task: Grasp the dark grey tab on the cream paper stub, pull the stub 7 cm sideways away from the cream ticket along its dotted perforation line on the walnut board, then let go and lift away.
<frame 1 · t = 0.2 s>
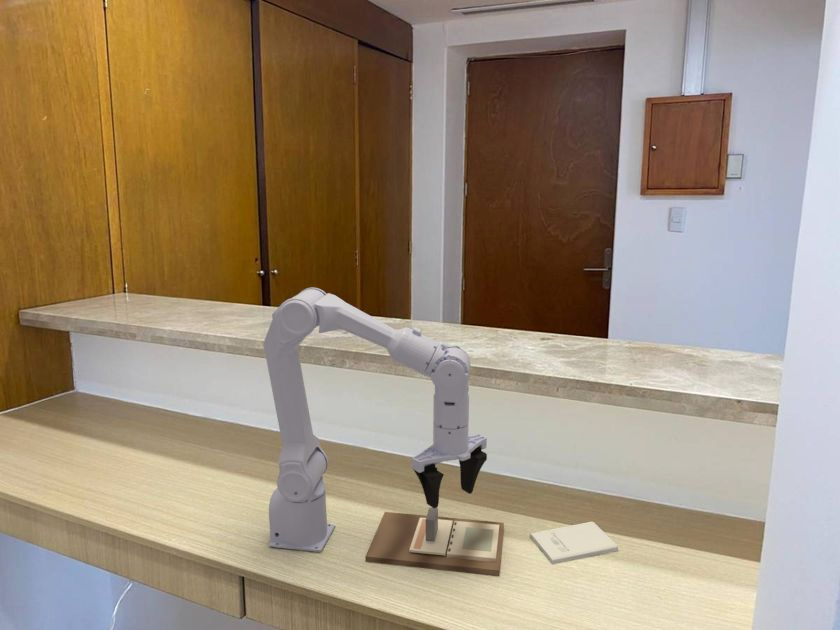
hand: (449, 498, 106), 10 cm above the worktop, fingers open, 7 cm apart
ticket board: (437, 543, 110), on the worktop
stub: (431, 525, 109), point 3 cm above the worktop, slide at 0.0 cm
external hard drive: (572, 547, 110), on the worktop
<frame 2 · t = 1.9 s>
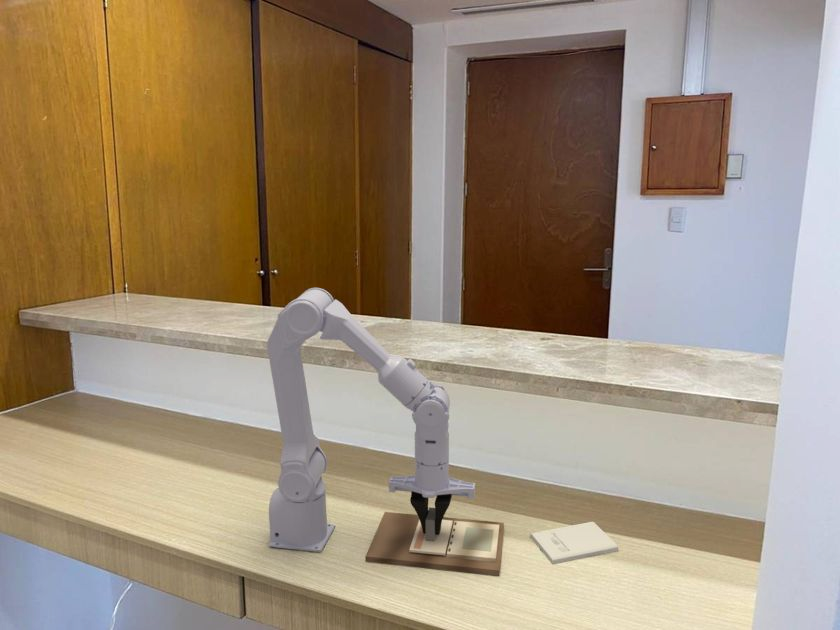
hand: (431, 530, 110), 2 cm above the worktop, fingers closed on stub
stub: (431, 525, 109), point 3 cm above the worktop, slide at 0.0 cm, touching gripper
everything else where it was.
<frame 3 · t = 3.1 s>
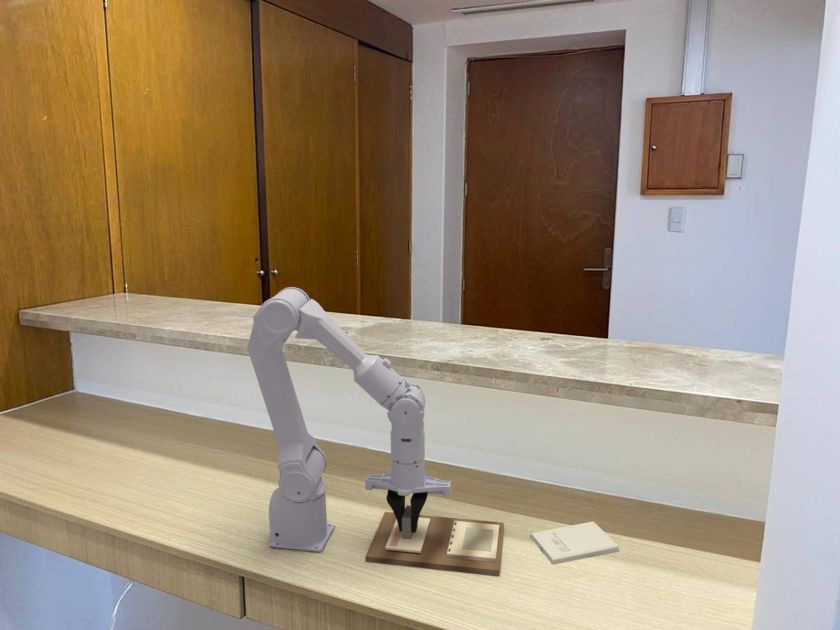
hand: (408, 528, 110), 2 cm above the worktop, fingers closed on stub
stub: (408, 523, 110), point 3 cm above the worktop, slide at 4.1 cm, touching gripper
everything else where it was.
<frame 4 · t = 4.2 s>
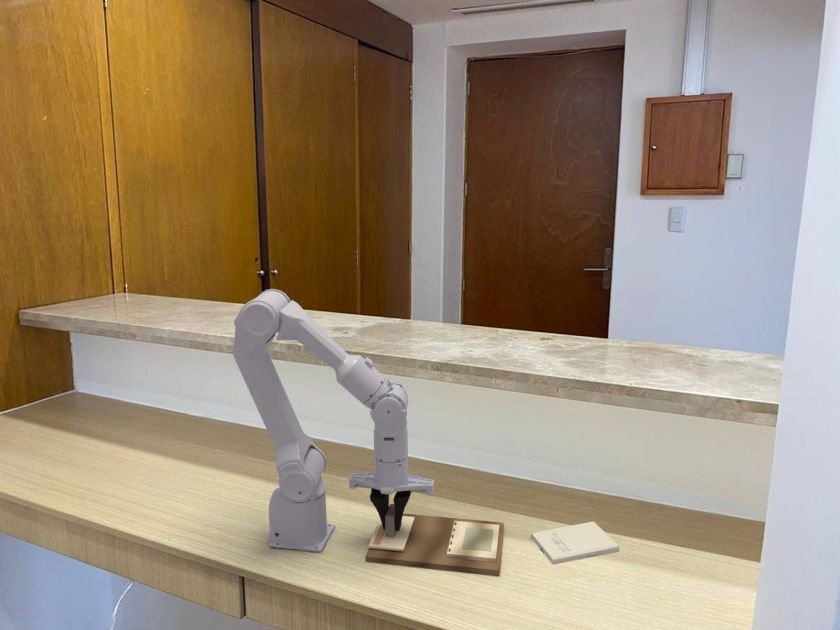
hand: (392, 527, 111), 2 cm above the worktop, fingers closed on stub
stub: (392, 521, 111), point 3 cm above the worktop, slide at 7.0 cm, touching gripper
everything else where it was.
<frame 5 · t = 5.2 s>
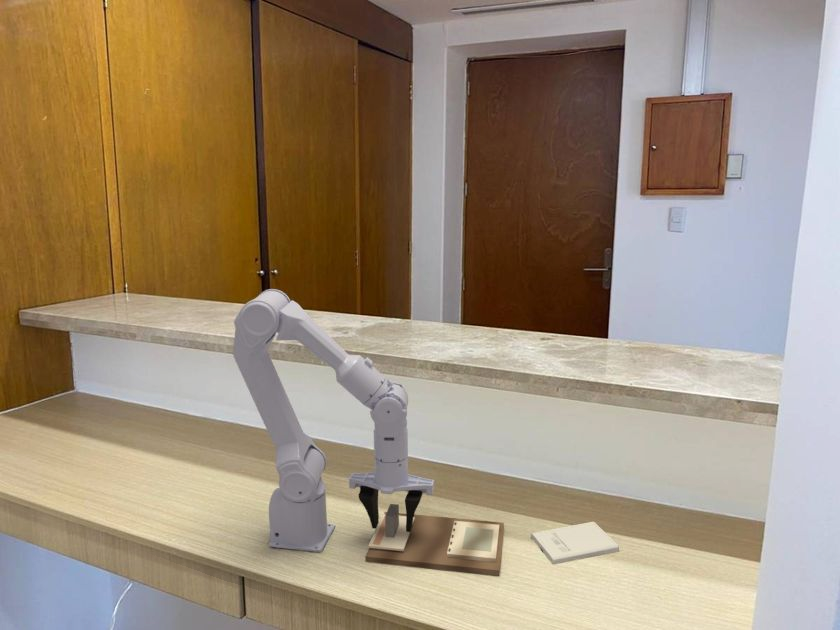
hand: (392, 527, 111), 2 cm above the worktop, fingers open, 5 cm apart
stub: (392, 521, 111), point 3 cm above the worktop, slide at 7.0 cm
everything else where it was.
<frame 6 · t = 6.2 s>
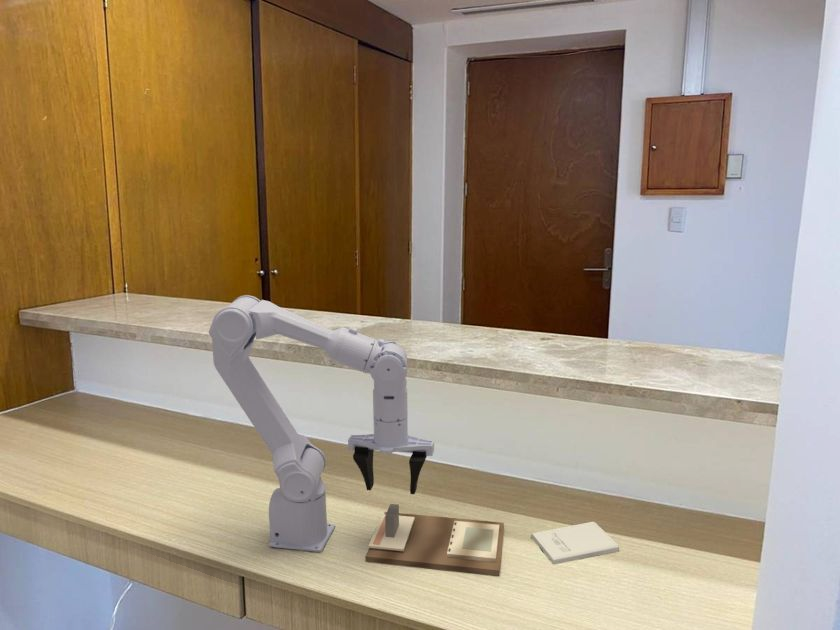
hand: (391, 489, 110), 9 cm above the worktop, fingers open, 7 cm apart
nothing on the worktop moved.
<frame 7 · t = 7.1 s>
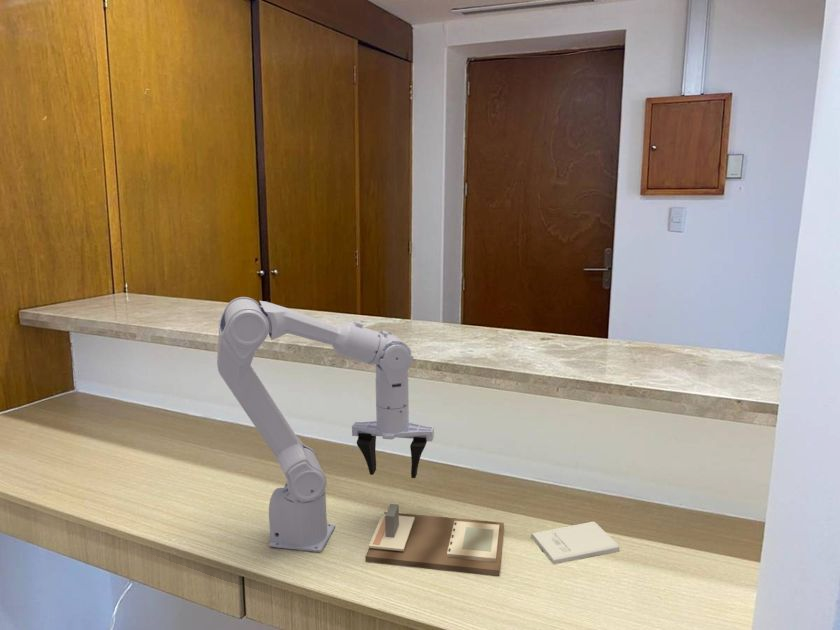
hand: (393, 473, 115), 9 cm above the worktop, fingers open, 7 cm apart
nothing on the worktop moved.
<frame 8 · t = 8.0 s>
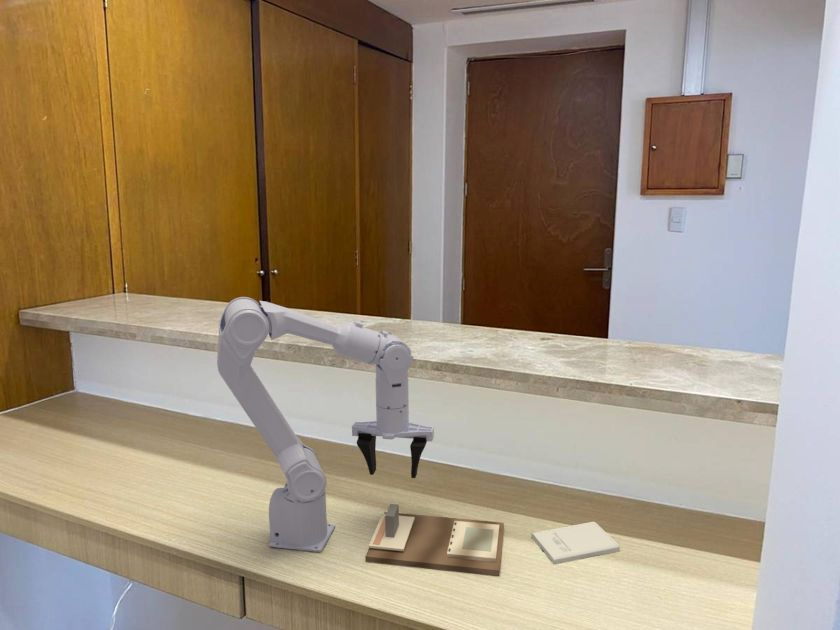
hand: (393, 473, 115), 9 cm above the worktop, fingers open, 7 cm apart
nothing on the worktop moved.
at the end: stub slide at 7.0 cm; the gripper is holding nothing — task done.
